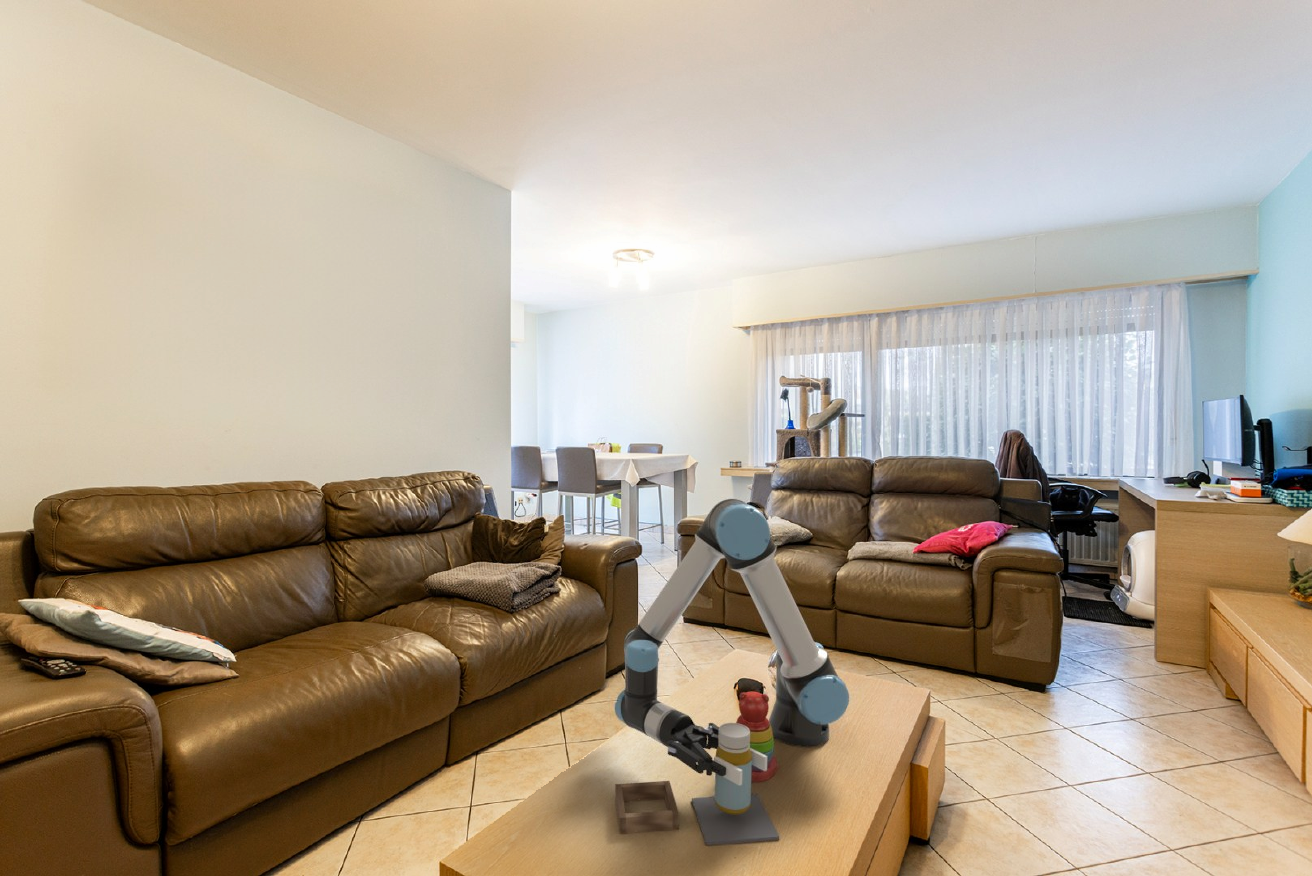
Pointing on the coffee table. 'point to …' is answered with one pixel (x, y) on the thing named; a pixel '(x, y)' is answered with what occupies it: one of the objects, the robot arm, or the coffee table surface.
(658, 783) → the walnut collar
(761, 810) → the charcoal mat
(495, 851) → the coffee table surface
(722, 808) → the bottle
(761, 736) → the stacking bear
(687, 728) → the robot arm
